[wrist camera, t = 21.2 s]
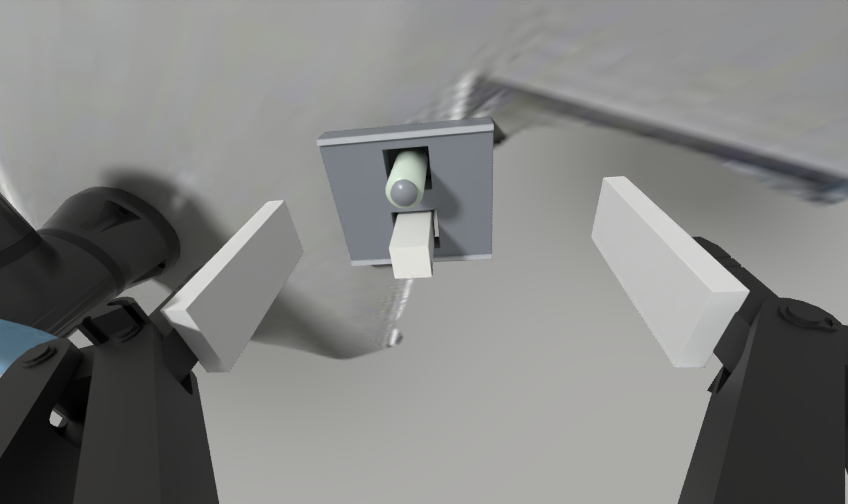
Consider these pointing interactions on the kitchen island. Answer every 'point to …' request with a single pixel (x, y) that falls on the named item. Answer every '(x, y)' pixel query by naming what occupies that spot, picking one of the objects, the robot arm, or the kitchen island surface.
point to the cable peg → (407, 178)
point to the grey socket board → (447, 191)
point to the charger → (413, 244)
